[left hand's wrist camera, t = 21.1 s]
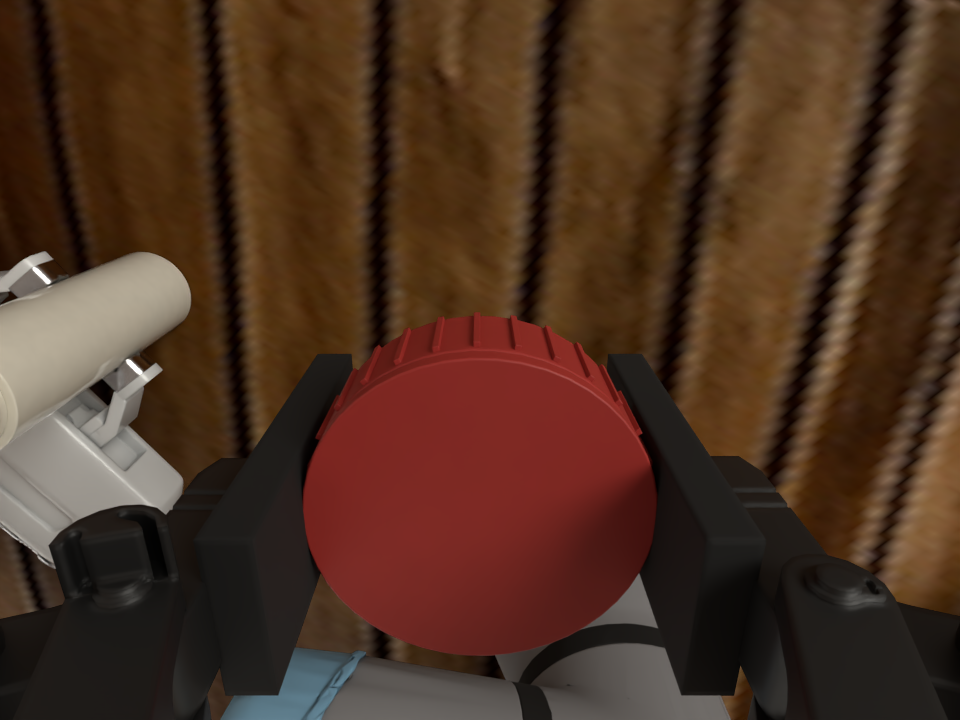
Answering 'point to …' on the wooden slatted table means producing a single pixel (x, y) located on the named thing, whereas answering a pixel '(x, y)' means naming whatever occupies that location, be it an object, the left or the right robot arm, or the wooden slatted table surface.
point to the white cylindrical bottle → (82, 334)
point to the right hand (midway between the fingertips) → (99, 315)
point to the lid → (479, 488)
